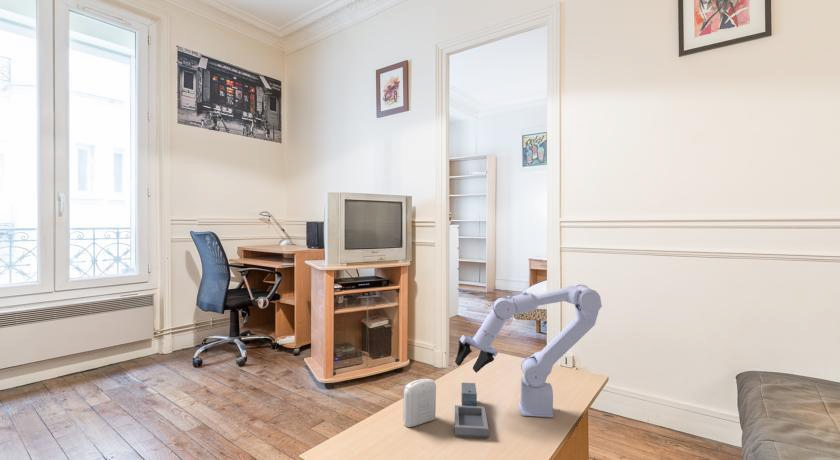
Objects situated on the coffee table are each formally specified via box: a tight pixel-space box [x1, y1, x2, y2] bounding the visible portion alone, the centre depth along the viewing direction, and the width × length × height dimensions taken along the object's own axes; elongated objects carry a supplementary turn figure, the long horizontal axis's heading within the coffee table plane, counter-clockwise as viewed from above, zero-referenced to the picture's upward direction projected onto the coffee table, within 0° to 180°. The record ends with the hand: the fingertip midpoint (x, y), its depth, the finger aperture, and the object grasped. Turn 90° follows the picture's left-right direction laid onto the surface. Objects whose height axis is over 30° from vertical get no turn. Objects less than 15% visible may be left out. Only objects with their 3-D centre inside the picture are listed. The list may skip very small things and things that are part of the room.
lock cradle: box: [454, 404, 489, 440], centre depth 112 cm, size 9×12×3 cm
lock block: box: [460, 382, 478, 406], centre depth 124 cm, size 4×8×6 cm, turn 175°
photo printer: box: [402, 378, 437, 428], centre depth 114 cm, size 10×4×12 cm, turn 123°
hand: (465, 367), depth 124 cm, fingers open, 7 cm apart
